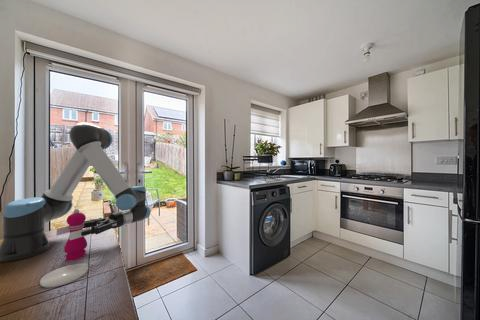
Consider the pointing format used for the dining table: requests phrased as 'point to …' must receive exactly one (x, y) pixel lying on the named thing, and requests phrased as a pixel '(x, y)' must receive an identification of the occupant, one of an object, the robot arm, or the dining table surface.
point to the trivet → (64, 275)
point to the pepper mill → (79, 244)
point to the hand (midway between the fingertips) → (63, 234)
